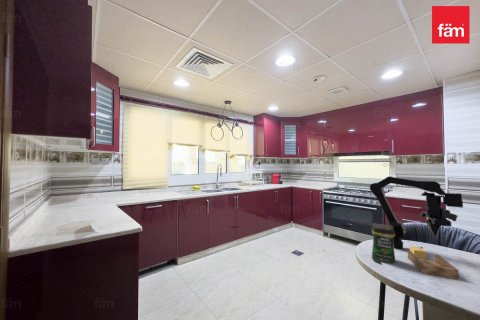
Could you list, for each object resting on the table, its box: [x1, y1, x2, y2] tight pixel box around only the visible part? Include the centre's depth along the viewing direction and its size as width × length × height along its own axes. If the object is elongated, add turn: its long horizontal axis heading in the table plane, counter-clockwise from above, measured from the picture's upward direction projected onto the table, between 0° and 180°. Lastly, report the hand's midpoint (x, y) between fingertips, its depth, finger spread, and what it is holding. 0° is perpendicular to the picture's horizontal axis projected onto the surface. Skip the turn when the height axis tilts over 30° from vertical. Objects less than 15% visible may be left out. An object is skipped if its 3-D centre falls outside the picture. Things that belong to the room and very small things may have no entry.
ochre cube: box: [409, 246, 428, 260], centre depth 104 cm, size 5×5×5 cm
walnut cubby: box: [407, 250, 460, 280], centre depth 93 cm, size 12×16×5 cm
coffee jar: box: [371, 222, 396, 265], centre depth 101 cm, size 10×8×19 cm
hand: (434, 235), depth 104 cm, fingers closed
